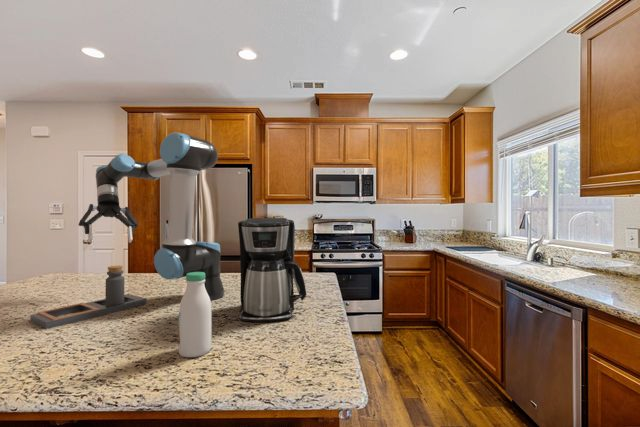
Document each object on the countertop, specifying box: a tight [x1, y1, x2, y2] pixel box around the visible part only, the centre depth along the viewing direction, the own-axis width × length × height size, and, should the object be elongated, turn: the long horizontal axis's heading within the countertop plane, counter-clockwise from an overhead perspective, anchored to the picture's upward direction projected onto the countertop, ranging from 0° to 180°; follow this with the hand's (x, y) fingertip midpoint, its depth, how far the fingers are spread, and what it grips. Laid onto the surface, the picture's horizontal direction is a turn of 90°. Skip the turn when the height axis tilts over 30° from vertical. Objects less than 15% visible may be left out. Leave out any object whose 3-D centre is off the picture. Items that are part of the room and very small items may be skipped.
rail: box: [29, 293, 147, 330], centre depth 107 cm, size 13×30×2 cm, turn 149°
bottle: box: [104, 265, 125, 307], centre depth 113 cm, size 6×6×15 cm
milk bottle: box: [178, 272, 212, 358], centre depth 77 cm, size 8×8×20 cm
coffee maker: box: [237, 217, 307, 323], centre depth 112 cm, size 23×32×34 cm
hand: (111, 241), depth 121 cm, fingers open, 13 cm apart
